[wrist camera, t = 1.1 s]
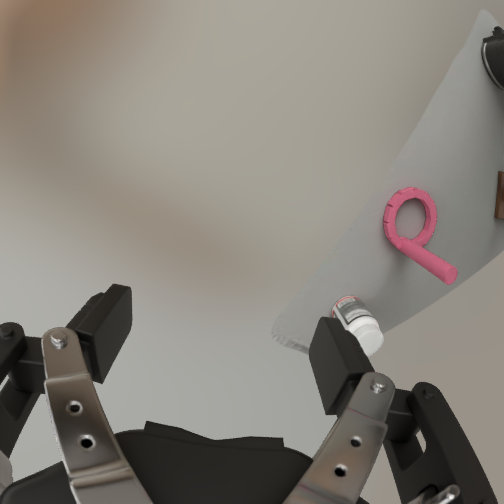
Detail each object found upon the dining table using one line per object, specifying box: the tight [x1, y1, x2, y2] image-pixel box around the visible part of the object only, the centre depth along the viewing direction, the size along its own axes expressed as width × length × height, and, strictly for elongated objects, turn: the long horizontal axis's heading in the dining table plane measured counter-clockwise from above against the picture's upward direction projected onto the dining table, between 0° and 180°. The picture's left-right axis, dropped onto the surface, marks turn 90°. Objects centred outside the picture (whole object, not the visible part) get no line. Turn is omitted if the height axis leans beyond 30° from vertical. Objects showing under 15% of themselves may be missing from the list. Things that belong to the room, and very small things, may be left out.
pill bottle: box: [332, 296, 384, 356], centre depth 34 cm, size 5×5×8 cm
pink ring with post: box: [383, 187, 458, 285], centre depth 28 cm, size 9×8×11 cm
